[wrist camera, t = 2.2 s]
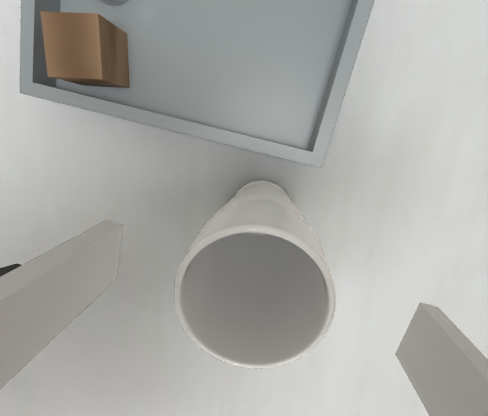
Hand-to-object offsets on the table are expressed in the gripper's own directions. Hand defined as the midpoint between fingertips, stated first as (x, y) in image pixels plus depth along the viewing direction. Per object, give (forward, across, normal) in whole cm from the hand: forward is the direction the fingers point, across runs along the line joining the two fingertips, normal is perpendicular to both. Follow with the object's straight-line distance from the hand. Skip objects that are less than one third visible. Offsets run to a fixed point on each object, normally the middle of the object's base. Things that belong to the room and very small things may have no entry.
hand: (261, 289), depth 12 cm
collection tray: (+14, -9, +12) cm, 20 cm away
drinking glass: (+14, 0, 0) cm, 14 cm away
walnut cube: (+13, -16, +9) cm, 23 cm away
